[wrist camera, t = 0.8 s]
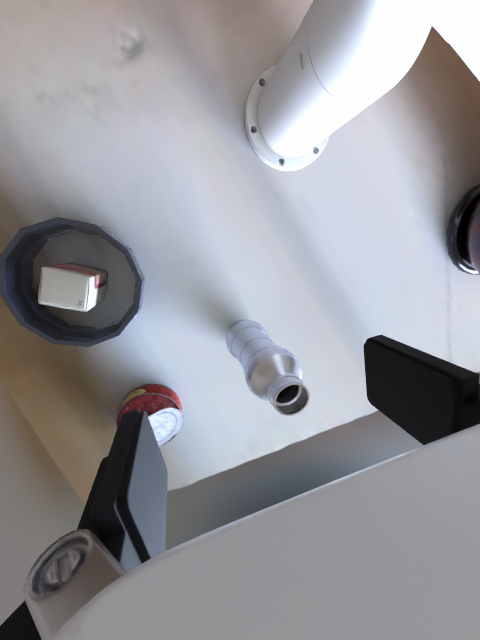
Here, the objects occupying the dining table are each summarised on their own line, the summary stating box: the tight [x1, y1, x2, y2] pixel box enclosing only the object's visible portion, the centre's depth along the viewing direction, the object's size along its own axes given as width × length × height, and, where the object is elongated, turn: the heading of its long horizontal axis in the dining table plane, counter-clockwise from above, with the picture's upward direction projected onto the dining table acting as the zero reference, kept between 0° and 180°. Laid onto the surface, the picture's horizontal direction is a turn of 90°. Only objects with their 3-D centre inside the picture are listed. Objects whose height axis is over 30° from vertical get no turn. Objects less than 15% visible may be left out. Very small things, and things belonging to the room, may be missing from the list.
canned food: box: [116, 384, 183, 446], centre depth 41 cm, size 11×10×10 cm
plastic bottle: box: [226, 320, 309, 416], centre depth 35 cm, size 6×7×20 cm
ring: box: [0, 217, 145, 347], centre depth 35 cm, size 15×15×5 cm
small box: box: [38, 263, 108, 312], centre depth 33 cm, size 5×4×8 cm
